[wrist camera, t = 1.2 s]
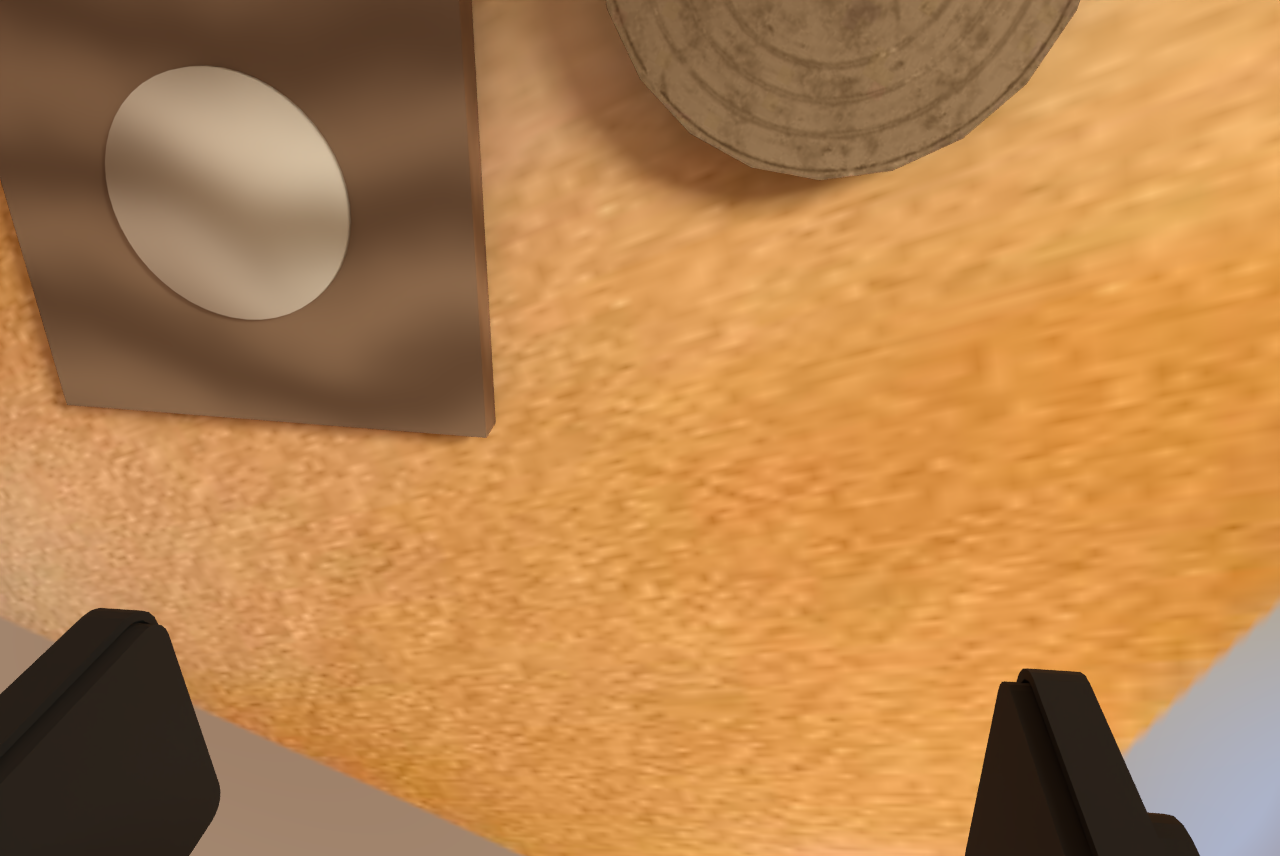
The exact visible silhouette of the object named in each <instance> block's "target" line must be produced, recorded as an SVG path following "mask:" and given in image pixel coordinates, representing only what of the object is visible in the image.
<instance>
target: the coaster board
mask: <svg viewBox="0 0 1280 856" xmlns="http://www.w3.org/2000/svg"><path fill="white" fill-rule="evenodd" d="M0 179H1V183H2V186H3V190H4V193H5V196H6V200H7V203H8V207H9V210H10V213H11V217H12V220H13V223H14V227H15V230H16V234H17V237H18V240H19V244H20V247H21V251H22V254H23V257H24V261H25V264H26V267H27V271H28V274H29V278H30V281H31V284H32V288H33V291H34V295H35V298H36V301H37V305H38V308H39V312H40V315H41V318H42V322H43V325H44V328H45V332H46V335H47V339H48V342H49V345H50V349H51V352H52V356H53V359H54V362H55V366H56V369H57V372H58V376H59V379H60V383H61V386H62V389H63V393H64V396H65V400H66V403H67V405H75V406H88V407H101V408H114V409H126V410H139V411H152V412H165V413H177V414H190V415H203V416H216V417H228V418H241V419H254V420H267V421H279V422H292V423H305V424H318V425H330V426H343V427H356V428H369V429H381V430H394V431H407V432H420V433H432V434H445V435H458V436H471V437H483V438H487V436H488V434H489V433H490V431H491V429H492V428H493V426H494V425H495V423H496V422H495V404H494V387H493V369H492V352H491V334H490V317H489V299H488V282H487V264H486V247H485V229H484V212H483V194H482V177H481V159H480V142H479V124H478V107H477V89H476V72H475V54H474V37H473V19H472V2H471V0H0Z"/></svg>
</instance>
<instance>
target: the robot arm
mask: <svg viewBox="0 0 1280 856" xmlns="http://www.w3.org/2000/svg"><path fill="white" fill-rule="evenodd" d="M219 801H220V786H219V782H218V779H217V776H216V774H215V771H214V767H213V764H212V761H211V759H210V755H209V753H208V749H207V746H206V744H205V741H204V738H203V735H202V732H201V729H200V726H199V723H198V720H197V717H196V714H195V711H194V708H193V705H192V702H191V699H190V696H189V693H188V690H187V687H186V684H185V681H184V678H183V675H182V672H181V669H180V666H179V664H178V661H177V658H176V655H175V652H174V649H173V646H172V643H171V640H170V637H169V634H168V632H167V630H166V629H165V628H164V627H163V626H162V625H158V623H157V621H156V619H155V617H154V616H153V615H151V614H150V613H149V612H145V611H138V610H122V609H107V608H98V609H94V610H91V611H90V612H88V613H87V614H85V615H84V616H83V617H82V618H81V619H80V620H78V621H77V622H76V623H75V624H74V625H73V626H72V627H71V628H70V629H69V630H68V631H67V632H66V633H65V634H64V635H63V636H62V637H60V638H59V639H58V640H57V641H56V642H55V643H54V644H53V645H52V646H51V647H50V648H49V649H48V650H47V651H46V652H45V653H44V654H43V655H41V656H40V657H39V658H38V659H37V660H36V661H35V662H34V663H33V664H32V665H31V666H30V667H29V668H28V669H27V670H26V671H24V672H23V673H22V674H21V675H20V676H19V677H18V678H17V679H16V680H15V681H14V682H13V683H12V684H11V685H10V686H9V687H8V688H6V690H4V691H3V692H2V693H1V694H0V856H189V855H190V854H191V852H192V851H193V849H194V848H195V846H196V844H197V843H198V841H199V840H200V838H201V837H202V835H203V834H204V832H205V831H206V829H207V827H208V826H209V825H210V823H211V822H212V820H213V818H214V816H215V814H216V811H217V809H218V806H219ZM965 856H1200V855H1199V853H1198V851H1197V848H1196V847H1195V845H1194V842H1193V840H1192V839H1191V837H1190V835H1189V834H1188V832H1187V830H1186V829H1185V827H1184V825H1182V823H1180V822H1179V821H1178V820H1177V819H1176V818H1175V817H1174V816H1171V815H1167V814H1159V813H1147V811H1146V809H1145V807H1144V804H1143V802H1142V800H1141V798H1140V795H1139V793H1138V791H1137V788H1136V786H1135V784H1134V782H1133V780H1132V777H1131V775H1130V773H1129V770H1128V768H1127V766H1126V764H1125V761H1124V759H1123V757H1122V755H1121V752H1120V750H1119V748H1118V746H1117V743H1116V741H1115V739H1114V737H1113V734H1112V732H1111V730H1110V728H1109V725H1108V723H1107V721H1106V719H1105V716H1104V714H1103V712H1102V710H1101V707H1100V705H1099V703H1098V701H1097V698H1096V696H1095V694H1094V692H1093V689H1092V687H1091V685H1090V683H1089V681H1088V679H1087V678H1086V676H1085V675H1084V674H1082V673H1081V672H1071V671H1056V670H1041V669H1022V670H1021V672H1020V673H1019V676H1018V679H1017V682H1002V683H1001V684H1000V686H999V690H998V694H997V699H996V704H995V709H994V714H993V719H992V724H991V729H990V734H989V739H988V743H987V748H986V753H985V758H984V763H983V768H982V773H981V778H980V783H979V788H978V793H977V798H976V803H975V808H974V813H973V817H972V822H971V827H970V832H969V837H968V842H967V847H966V852H965Z"/></svg>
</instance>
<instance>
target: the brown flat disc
mask: <svg viewBox="0 0 1280 856" xmlns="http://www.w3.org/2000/svg"><path fill="white" fill-rule="evenodd" d="M1079 2H1080V0H606V5H607V10H608V12H609V14H610V16H611V18H612V20H613V22H614V25H615V27H616V29H617V31H618V33H619V35H620V37H621V39H622V42H623V44H624V46H625V48H626V50H627V52H628V54H629V56H630V59H631V61H632V63H633V65H634V67H635V69H636V71H637V73H638V75H639V78H640V80H641V81H642V82H643V83H644V84H645V85H646V86H647V87H648V88H649V89H650V91H651V92H652V93H653V94H654V95H655V96H656V97H657V98H658V99H659V100H660V101H661V103H662V104H663V105H664V106H665V107H666V108H667V109H668V110H669V111H670V112H671V113H672V114H673V116H674V117H675V118H676V119H677V120H678V121H679V122H680V123H681V124H682V125H683V126H684V127H685V129H686V130H687V131H688V132H689V133H690V134H692V135H694V136H696V137H697V138H699V139H701V140H703V141H705V142H706V143H708V144H710V145H712V146H713V147H715V148H717V149H719V150H721V151H722V152H724V153H726V154H728V155H730V156H731V157H733V158H735V159H737V160H739V161H740V162H742V163H744V164H746V165H748V166H749V167H751V168H757V169H762V170H767V171H773V172H778V173H784V174H789V175H795V176H800V177H805V178H811V179H816V180H826V179H833V178H841V177H848V176H856V175H863V174H871V173H879V172H886V171H893V170H895V169H897V168H899V167H901V166H904V165H906V164H908V163H910V162H912V161H915V160H917V159H919V158H921V157H923V156H925V155H928V154H930V153H932V152H934V151H936V150H939V149H941V148H943V147H945V146H947V145H950V144H952V143H954V142H956V141H958V140H960V139H963V138H964V137H965V136H966V135H967V134H969V133H970V132H971V131H972V130H973V129H974V128H976V127H977V126H978V125H979V124H980V123H981V122H983V121H984V120H985V119H986V118H987V117H988V116H990V115H991V114H992V113H993V112H994V111H996V110H997V109H998V108H999V107H1000V106H1001V105H1003V104H1004V103H1005V102H1006V101H1007V100H1008V99H1010V98H1011V97H1012V96H1013V95H1014V94H1015V93H1017V92H1018V91H1019V90H1020V89H1021V88H1022V87H1024V86H1025V85H1026V84H1027V82H1028V81H1029V80H1030V78H1031V77H1032V75H1033V74H1034V72H1035V71H1036V69H1037V68H1038V66H1039V65H1040V63H1041V62H1042V60H1043V59H1044V57H1045V56H1046V55H1047V53H1048V52H1049V50H1050V49H1051V47H1052V46H1053V44H1054V43H1055V41H1056V40H1057V38H1058V37H1059V35H1060V34H1061V33H1062V31H1063V30H1064V28H1065V27H1066V25H1067V24H1068V22H1069V21H1070V19H1071V18H1072V16H1073V15H1074V13H1075V12H1076V11H1077V8H1078V5H1079Z"/></svg>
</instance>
